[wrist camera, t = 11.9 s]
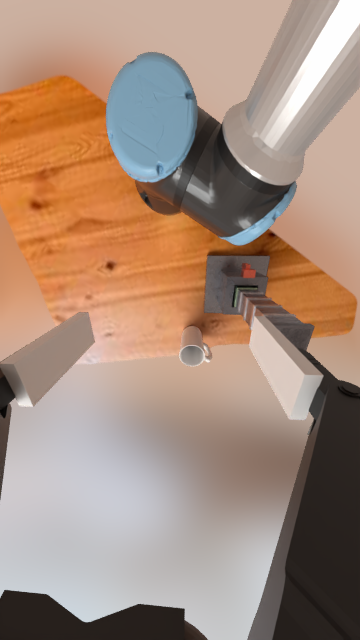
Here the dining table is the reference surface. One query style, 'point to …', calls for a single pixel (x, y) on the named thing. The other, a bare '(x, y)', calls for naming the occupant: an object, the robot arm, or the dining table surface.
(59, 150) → the dining table surface
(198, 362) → the mug
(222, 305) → the sleeve
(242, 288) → the column
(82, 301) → the dining table surface
